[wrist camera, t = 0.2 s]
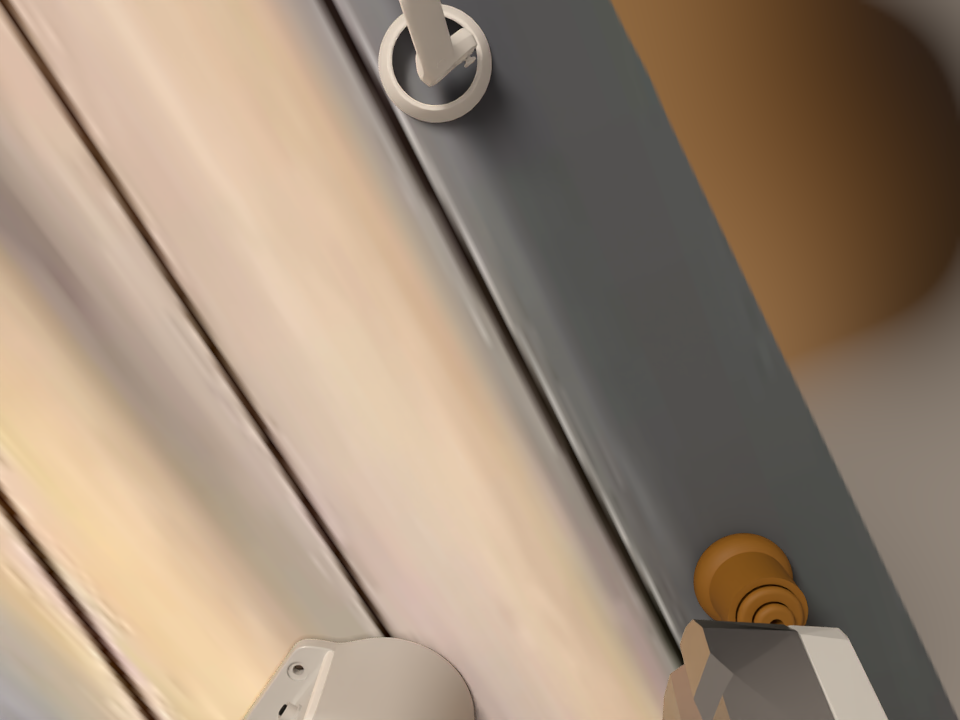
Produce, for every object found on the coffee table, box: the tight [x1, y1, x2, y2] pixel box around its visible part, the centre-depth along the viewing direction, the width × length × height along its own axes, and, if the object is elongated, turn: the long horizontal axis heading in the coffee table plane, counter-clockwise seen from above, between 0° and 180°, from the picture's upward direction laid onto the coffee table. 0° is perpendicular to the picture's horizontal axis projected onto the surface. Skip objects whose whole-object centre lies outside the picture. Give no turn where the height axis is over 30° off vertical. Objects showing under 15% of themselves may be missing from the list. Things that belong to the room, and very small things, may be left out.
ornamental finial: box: [694, 533, 808, 626], centre depth 62 cm, size 8×8×8 cm
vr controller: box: [378, 0, 492, 123], centre depth 54 cm, size 8×12×7 cm
